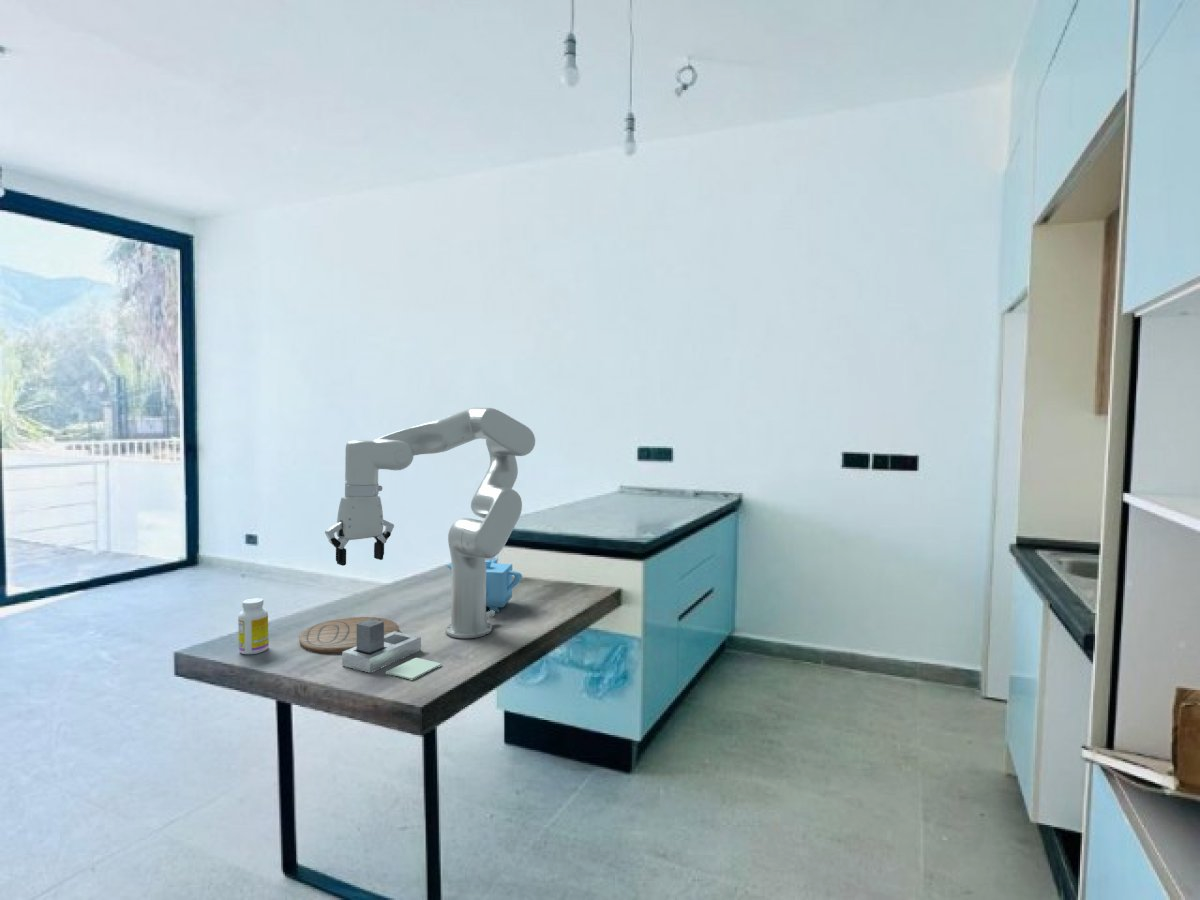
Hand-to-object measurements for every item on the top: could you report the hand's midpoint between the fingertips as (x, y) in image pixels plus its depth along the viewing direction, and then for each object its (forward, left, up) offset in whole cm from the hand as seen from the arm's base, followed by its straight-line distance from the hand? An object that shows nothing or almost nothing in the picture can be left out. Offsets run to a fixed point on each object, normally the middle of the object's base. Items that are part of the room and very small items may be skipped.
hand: (360, 561), depth 157 cm
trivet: (-11, -16, -25) cm, 31 cm away
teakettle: (-51, -2, -25) cm, 57 cm away
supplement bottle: (+8, -29, -25) cm, 39 cm away
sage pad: (-2, +15, -25) cm, 29 cm away
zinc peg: (0, +3, -25) cm, 25 cm away
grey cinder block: (-4, +3, -25) cm, 25 cm away
